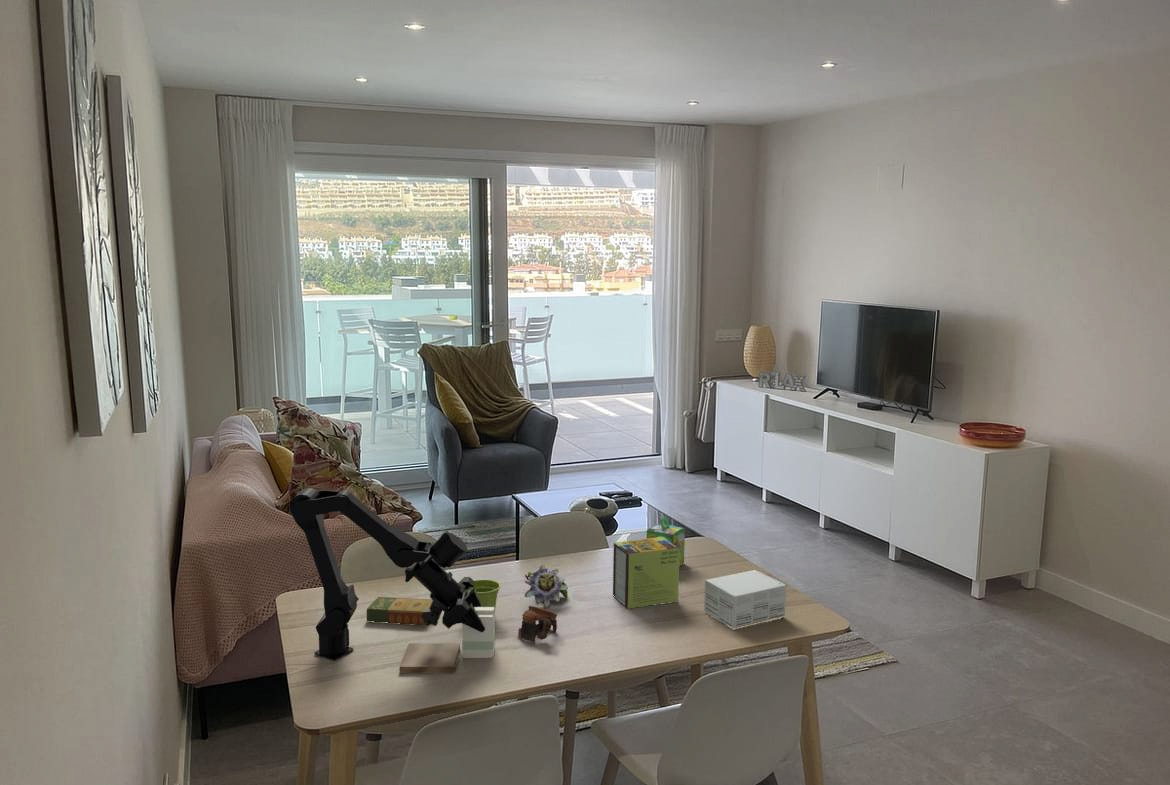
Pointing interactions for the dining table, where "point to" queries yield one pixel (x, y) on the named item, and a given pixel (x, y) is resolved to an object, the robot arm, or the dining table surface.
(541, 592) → the passion flower
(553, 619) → the brown blocky piece
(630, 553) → the protein box
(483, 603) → the plant pot
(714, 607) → the supplement box
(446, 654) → the plinth
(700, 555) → the dining table surface
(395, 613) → the carton
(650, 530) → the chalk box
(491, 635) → the oat carton
